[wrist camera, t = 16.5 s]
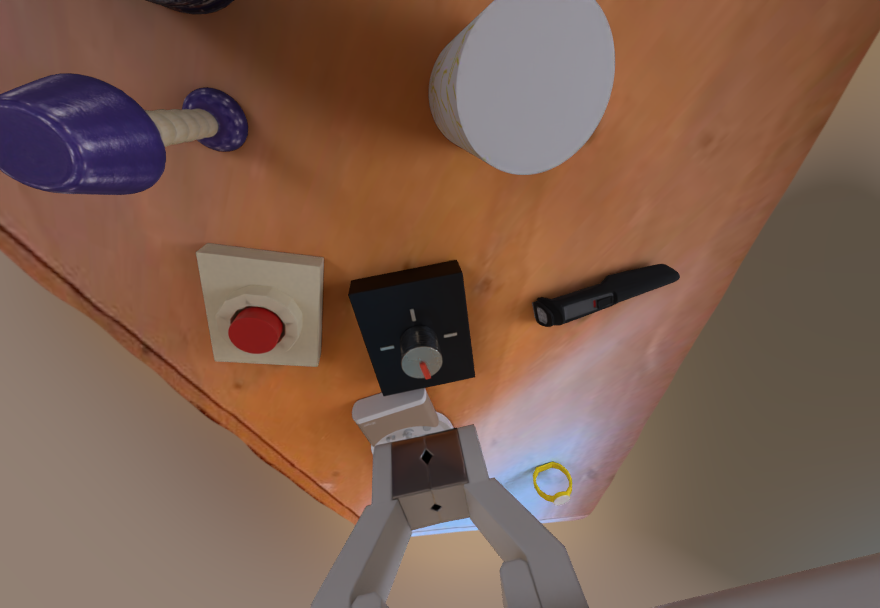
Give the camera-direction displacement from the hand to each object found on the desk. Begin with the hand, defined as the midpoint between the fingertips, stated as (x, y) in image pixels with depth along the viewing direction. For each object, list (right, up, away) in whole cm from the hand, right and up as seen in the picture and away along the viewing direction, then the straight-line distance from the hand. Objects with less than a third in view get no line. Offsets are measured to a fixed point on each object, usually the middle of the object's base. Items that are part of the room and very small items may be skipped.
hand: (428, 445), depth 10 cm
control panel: (-2, +2, +27) cm, 28 cm away
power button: (-16, +2, +21) cm, 26 cm away
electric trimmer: (+18, +6, +29) cm, 34 cm away
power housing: (-17, +4, +24) cm, 29 cm away
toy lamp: (-16, +18, +15) cm, 29 cm away
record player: (-3, -15, +38) cm, 41 cm away
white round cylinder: (+3, +21, +17) cm, 27 cm away
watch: (+18, -23, +46) cm, 55 cm away
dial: (-2, 0, +25) cm, 25 cm away
